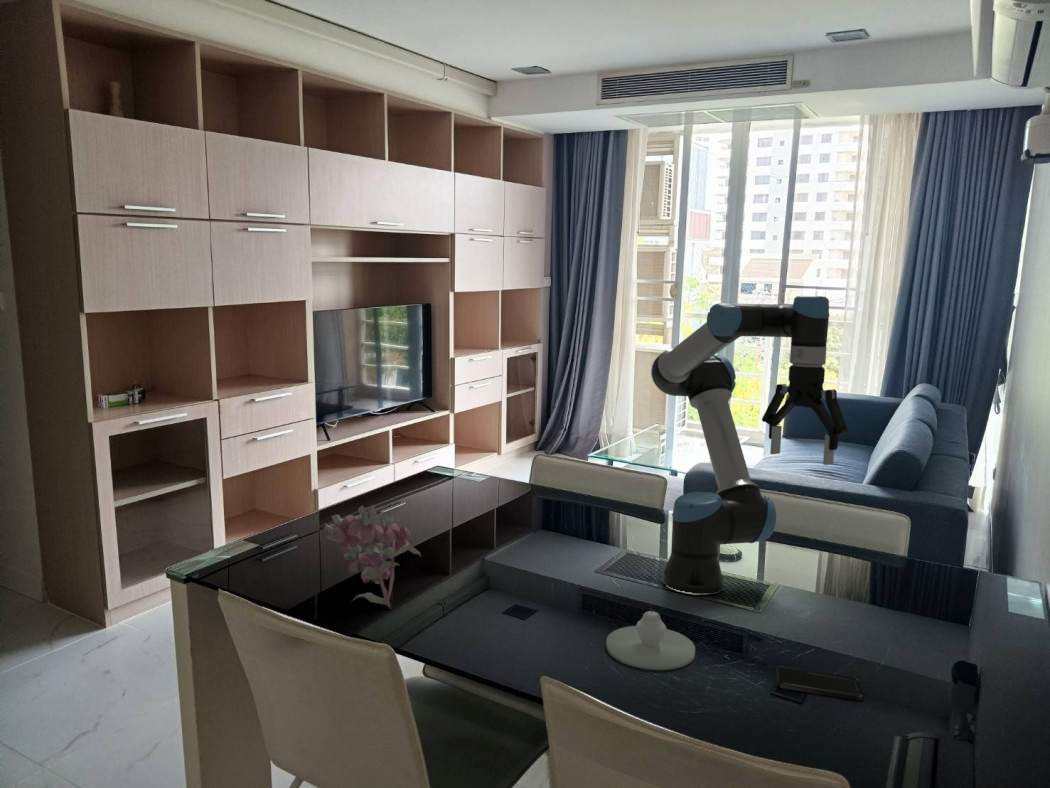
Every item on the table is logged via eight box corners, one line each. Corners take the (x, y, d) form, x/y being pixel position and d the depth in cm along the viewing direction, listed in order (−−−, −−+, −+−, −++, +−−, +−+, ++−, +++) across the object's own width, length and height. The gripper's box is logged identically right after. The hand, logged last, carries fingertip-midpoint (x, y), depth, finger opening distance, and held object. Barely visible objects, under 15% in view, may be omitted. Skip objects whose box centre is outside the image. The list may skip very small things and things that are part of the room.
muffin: (658, 653, 152) (660, 619, 151) (630, 645, 155) (631, 612, 155) (670, 642, 157) (671, 609, 157) (642, 635, 161) (643, 603, 160)
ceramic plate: (588, 643, 158) (588, 638, 158) (649, 624, 169) (649, 619, 169) (651, 678, 144) (651, 672, 144) (713, 655, 155) (713, 649, 155)
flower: (452, 585, 185) (420, 487, 189) (399, 607, 165) (365, 498, 169) (388, 607, 193) (358, 513, 197) (330, 631, 173) (299, 526, 177)
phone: (863, 697, 138) (776, 682, 142) (862, 703, 138) (775, 688, 142) (858, 678, 145) (775, 664, 150) (858, 683, 145) (775, 670, 150)
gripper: (750, 361, 178) (745, 451, 180) (850, 370, 158) (842, 470, 161) (769, 361, 183) (764, 448, 185) (869, 369, 163) (861, 467, 165)
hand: (800, 458), depth 173 cm, fingers open, 13 cm apart
